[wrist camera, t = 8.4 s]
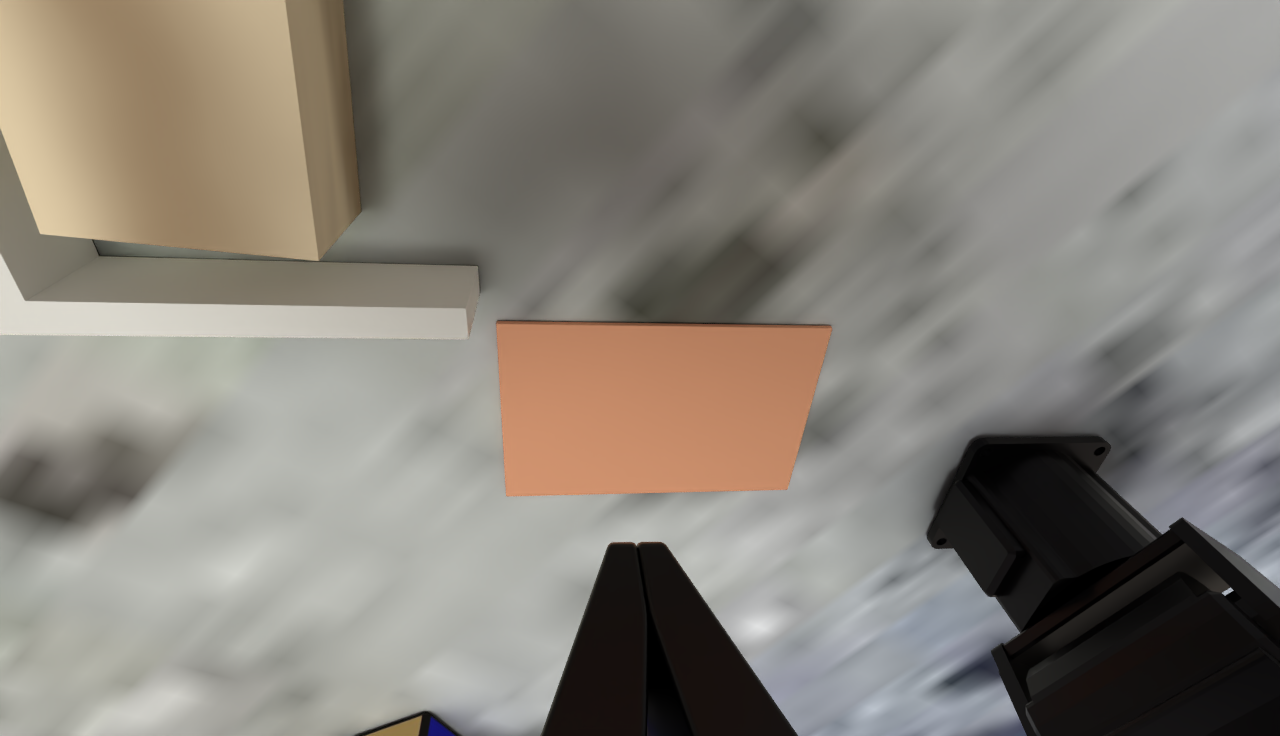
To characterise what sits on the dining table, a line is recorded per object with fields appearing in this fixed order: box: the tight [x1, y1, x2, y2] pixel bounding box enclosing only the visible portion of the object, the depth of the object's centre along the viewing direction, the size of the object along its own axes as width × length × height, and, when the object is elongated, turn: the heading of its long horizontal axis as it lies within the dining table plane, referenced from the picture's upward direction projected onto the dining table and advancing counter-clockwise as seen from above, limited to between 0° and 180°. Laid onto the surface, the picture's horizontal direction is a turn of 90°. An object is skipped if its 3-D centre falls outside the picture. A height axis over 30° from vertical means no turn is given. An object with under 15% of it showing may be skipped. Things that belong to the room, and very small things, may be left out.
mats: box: [496, 321, 832, 496], centre depth 18 cm, size 12×29×1 cm, turn 176°
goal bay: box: [0, 128, 480, 339], centre depth 15 cm, size 12×11×3 cm
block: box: [0, 0, 361, 261], centre depth 15 cm, size 6×6×4 cm
